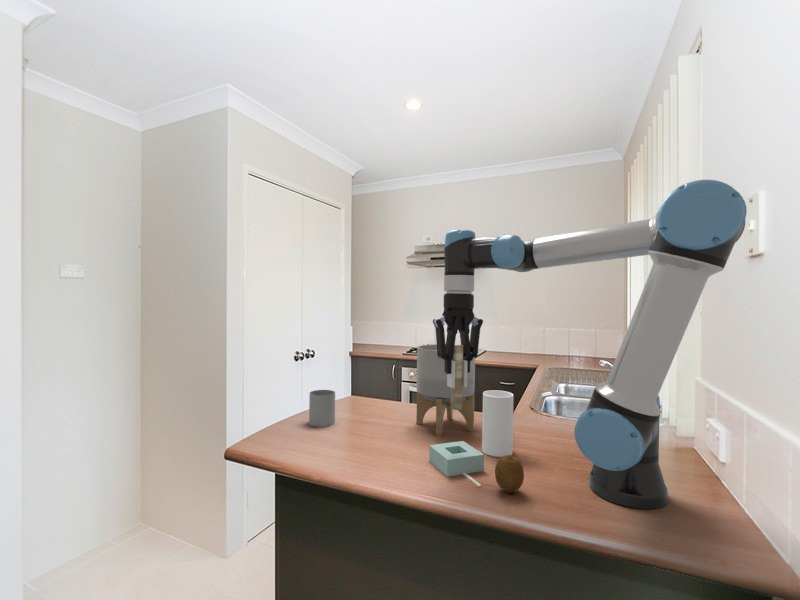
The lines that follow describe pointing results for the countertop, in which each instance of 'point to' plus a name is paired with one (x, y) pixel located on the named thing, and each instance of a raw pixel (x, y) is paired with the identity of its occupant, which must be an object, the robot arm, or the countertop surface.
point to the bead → (456, 458)
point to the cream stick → (472, 479)
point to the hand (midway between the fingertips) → (457, 386)
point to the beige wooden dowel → (457, 378)
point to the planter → (440, 388)
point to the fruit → (509, 473)
